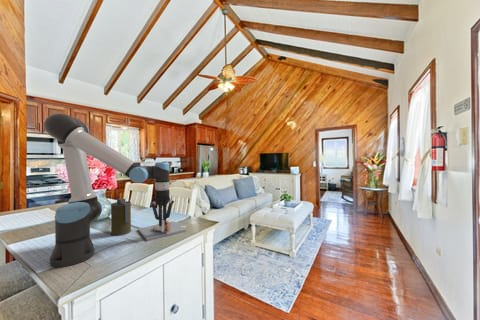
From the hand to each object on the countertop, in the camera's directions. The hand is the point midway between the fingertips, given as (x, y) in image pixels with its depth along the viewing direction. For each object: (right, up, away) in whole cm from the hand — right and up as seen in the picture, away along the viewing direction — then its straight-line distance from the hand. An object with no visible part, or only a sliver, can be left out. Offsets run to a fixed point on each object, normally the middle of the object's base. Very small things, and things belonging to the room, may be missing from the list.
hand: (162, 231), depth 112 cm
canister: (-27, -3, +6) cm, 27 cm away
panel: (-3, -3, +8) cm, 9 cm away
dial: (-2, -1, +6) cm, 6 cm away
